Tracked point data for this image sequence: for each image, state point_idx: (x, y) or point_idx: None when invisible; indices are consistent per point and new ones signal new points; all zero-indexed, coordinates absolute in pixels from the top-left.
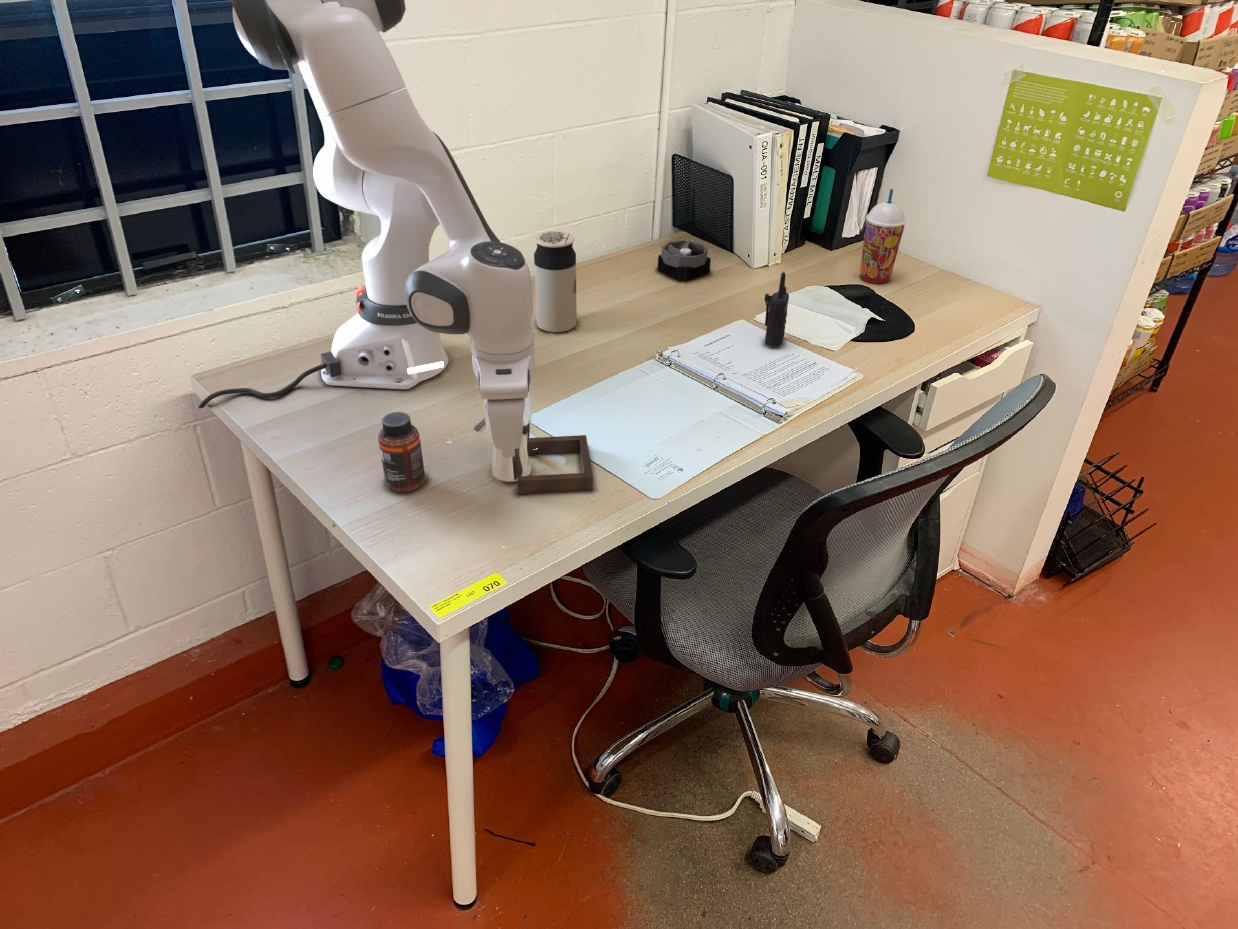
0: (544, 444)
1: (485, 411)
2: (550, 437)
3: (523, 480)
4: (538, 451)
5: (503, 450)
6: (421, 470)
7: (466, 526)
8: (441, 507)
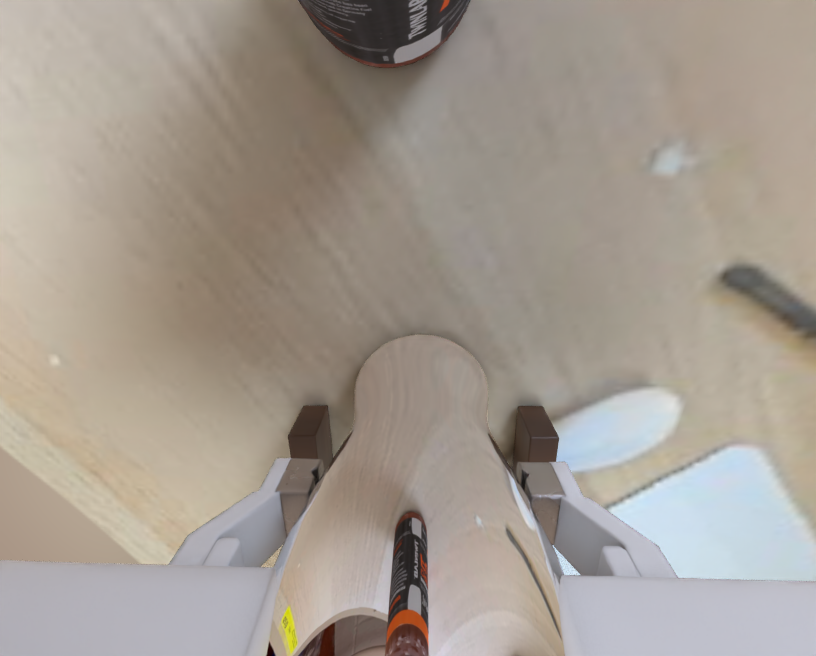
0: None
1: (338, 573)
2: None
3: (291, 453)
4: (515, 475)
5: (266, 482)
6: (344, 40)
7: (128, 251)
8: (222, 155)
